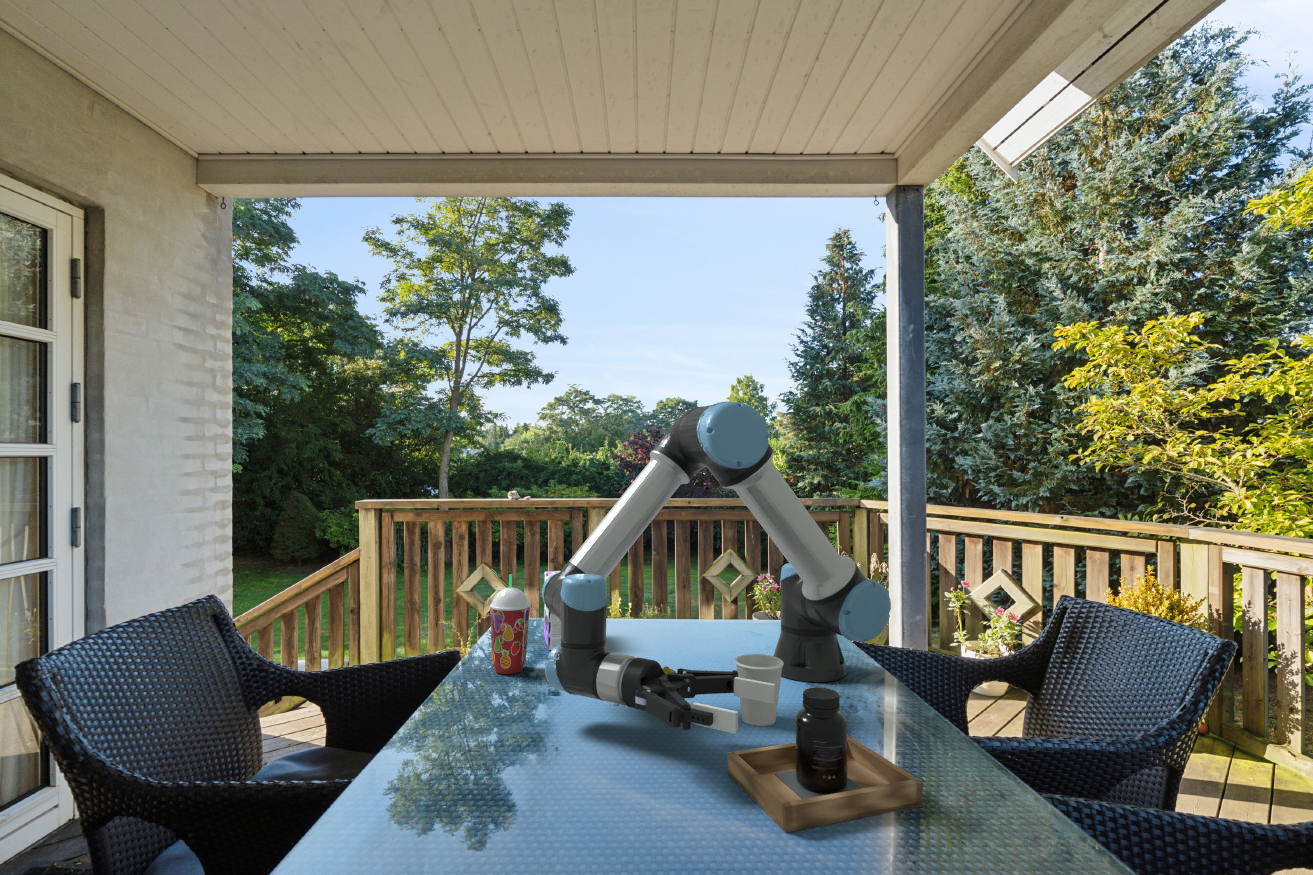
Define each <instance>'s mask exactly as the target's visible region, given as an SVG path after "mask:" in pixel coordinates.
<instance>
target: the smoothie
mask: <svg viewBox="0 0 1313 875" xmlns="http://www.w3.org/2000/svg"><path fill="white" fill-rule="evenodd" d="M530 607H531V603H530V602H529V600H528V598H527V595H526V594H525V593H524V592H523V591H522V590H521V589H519V588H517V587H514V586H513V574H512V573H511V574H509V575H508V587H505V588H503V589H501V590H500V591H498V592H497V593H496V594H495V595H494V597H493V598H492V601H491V603H490V604H489V612H490V613H489V614H490V634H491V635H490V636H491V654H492V655H491V661H492V666H493V667H494V671H495V672H496V673H497V674H501V675H513V674H517V673H520V672H522V671H523V669H524V665H526V660H527V650H528V649H527V648H528V637H529V636H528V635H529V624H530V612H531V611H530V609H531V608H530Z"/></svg>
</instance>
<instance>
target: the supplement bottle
mask: <svg viewBox="0 0 1313 875" xmlns="http://www.w3.org/2000/svg"><path fill="white" fill-rule="evenodd" d="M802 707H803V708H802V709H801V710H799V712H798V713H797V714H796V716H795V743H796V779H797V781H798V782H799V784H800V785H801V786H803V787H804V788H806V789H808V790H810V791H813V792H817V793H836V792H839V791H841V790H843V789H844V788H845V787H846V785H847V774H848V771H847V735H848V721H847V719H846V717H845V716H844V714H843V713H842V712H841V711H840V710H841V703H840V694H839V692H837V691H835V690H833V689H830V688H826V687H818V686H817V687H808V688H806V689H804V690H803V693H802Z"/></svg>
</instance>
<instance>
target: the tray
mask: <svg viewBox="0 0 1313 875" xmlns="http://www.w3.org/2000/svg"><path fill="white" fill-rule="evenodd" d="M847 771H848V774H847V785H846V787H845V788H844V789H843V790H841V791H839V792H836V793H817V792H813V791H810V790H808V789H806V788H804V787H803V786H801V785H800V784H799V782H798V781H797V779H796V742H791V743H784V744H776V745H770V746H763V747H757V748H749V749H743V750H736V751H730V752H727V775H728V776H729V777H730V778H731V779H732V781H733V782H735V783H736V784H737V785H738V787H740V789H742V791H744V792H745V793H746V794H747V796H749V797H750V798H751V799H752V801H754V802H755V803H756V805H758V806H759V808H761V809H762V811H764V812H765V814H766V815H768V817H769V818H770V819H771V820H772V821H774V822H775V824H777V826H779V828H781V829H782V831H784V833H786V834H787V833H791V832H796V831H801V830H808V829H811V828H817V827H822V826H826V825H833V824H838V823H841V822H847V821H853V820H858V819H863V818H867V817H868V818H869V817H873V816H878V815H879V816H880V815H883V814H889V813H894V812H899V811H904V810H909V809H914V808H919V807H923V806H924V795H923V794H924V793H923V792H924V788H923V786H924V782H923V781H922V780H920V779H918V777H916V776H914V775H912V774H911V773H909V772H907V771H906V770H904V769H903V768H901V767H899V766H898V765H896V763H893V762H891V761H890V760H889V759H887V758H885V757H883V756H882V755H881V754H879V753H877V752H876V751H874V749H873V750H872V749H871V748H870V747H868V746H866V745H865V744H863V743H862V742H860V741H859V740H857V739H855V738H854V737H852V736H851V735H849V734H847Z"/></svg>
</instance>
